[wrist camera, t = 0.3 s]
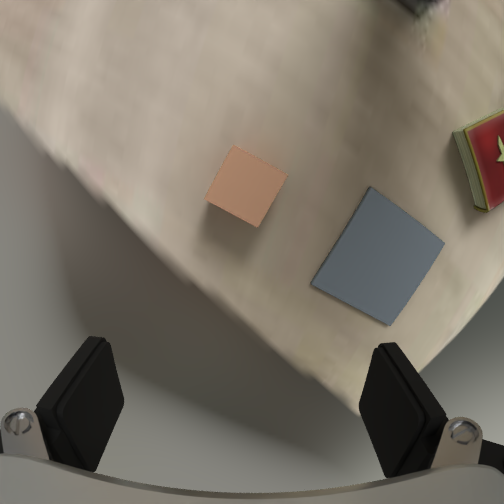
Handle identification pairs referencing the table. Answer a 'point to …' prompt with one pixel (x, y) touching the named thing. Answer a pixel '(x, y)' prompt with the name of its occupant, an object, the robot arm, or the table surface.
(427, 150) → the table surface
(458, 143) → the hardcover book
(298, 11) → the table surface
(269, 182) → the terracotta cube
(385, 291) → the slate mat
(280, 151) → the table surface
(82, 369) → the robot arm
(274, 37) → the table surface
